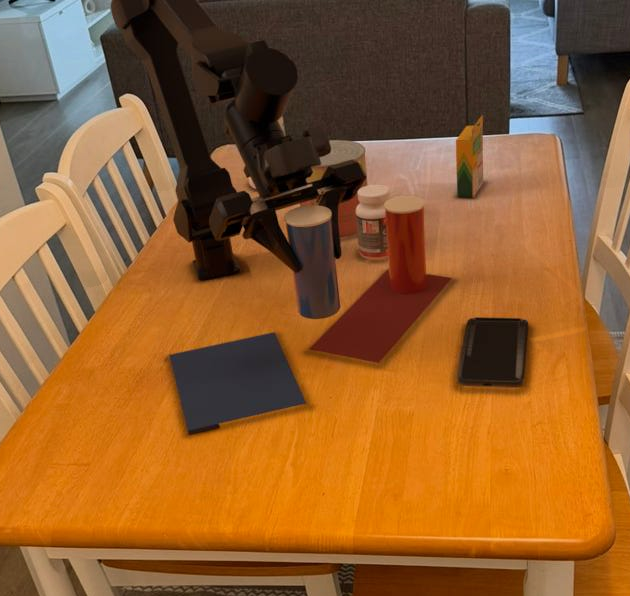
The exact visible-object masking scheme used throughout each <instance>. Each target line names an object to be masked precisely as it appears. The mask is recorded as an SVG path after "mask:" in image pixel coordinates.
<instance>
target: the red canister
mask: <svg viewBox="0 0 630 596" xmlns="http://www.w3.org/2000/svg"><path fill="white" fill-rule="evenodd" d="M384 208H385V218H386V233H387V248H388V257H387V263H388V269H389V279H390V288H391V289H392V290H393V291H394V292H397V293H401V294H412V293H417V292H420V291H422V290H423V289H425V288H426V286H427V276H426V274H427V256H426V255H427V253H426V252H427V249H426V227H425V226H426V225H425V200H424V199H423V198H422V197H419V196H416V195H397V196H394V197H390V198H389V200H387V201H386V202H385V203H384Z"/></svg>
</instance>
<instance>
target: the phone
mask: <svg viewBox="0 0 630 596" xmlns="http://www.w3.org/2000/svg"><path fill="white" fill-rule="evenodd" d="M528 331H529V321H528V320H527V319H525V318H519V317H478V316H475V317H471V318H468V319H467V320H466V326H465V330H464V335H463V341H462V346H461V352H460V358H459V363H458V369H457V374H456V381H457V383H458V384H459V385H461V386H464V387H465V386H466V387H487V388H488V387H489V388H490V387H491V388H519V387H522V386H523V385H524V383H525V372H526V371H525V370H526V361H527V360H526V359H527V345H528Z"/></svg>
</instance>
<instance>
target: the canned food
mask: <svg viewBox="0 0 630 596" xmlns="http://www.w3.org/2000/svg"><path fill="white" fill-rule="evenodd" d="M329 142H330V146H331V152H330V154H328V155H325V156H323V157H320V161H321V165H319V166H313V167H311V168H312V170H313V173H312V175H311V177H308V178H307V179H306V181H307V183H310V182H313V181H317V180H320V179H321V178H322V176H323V175H324V173H325V171H326V169H327V167H328V166H330V165H334V164H337V163H341V162H344V161H348V160H351V159H353V160H355V161H357V162H358V163H360V164H361V165H362V167H363V170H364V172H365V174H366V176H367V178H366V179H365V181H364V183H363V184H362V186H361V187H360V188H362V187H365V186H368V175H367V174H368V173H367V163H366V147H365V146H364V145H363V144H362V143H360V142H356V141H354V140H353V141H352V140H345V139H331V140H330V139H329ZM359 204H360V202H359V200H358V192H357V193H356V195H355V197H354V198H352V199H351V200H349V201H346V202H343V203H340V204H339V205H338V224H339V234H340V239H341V238H346V237H352V236H358V234H357V223H356V208H357V206H358V205H359ZM308 205H314V204H313V202H312V200H310V201H306V202H303V203H300V204H299V207H301V206H308Z"/></svg>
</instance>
